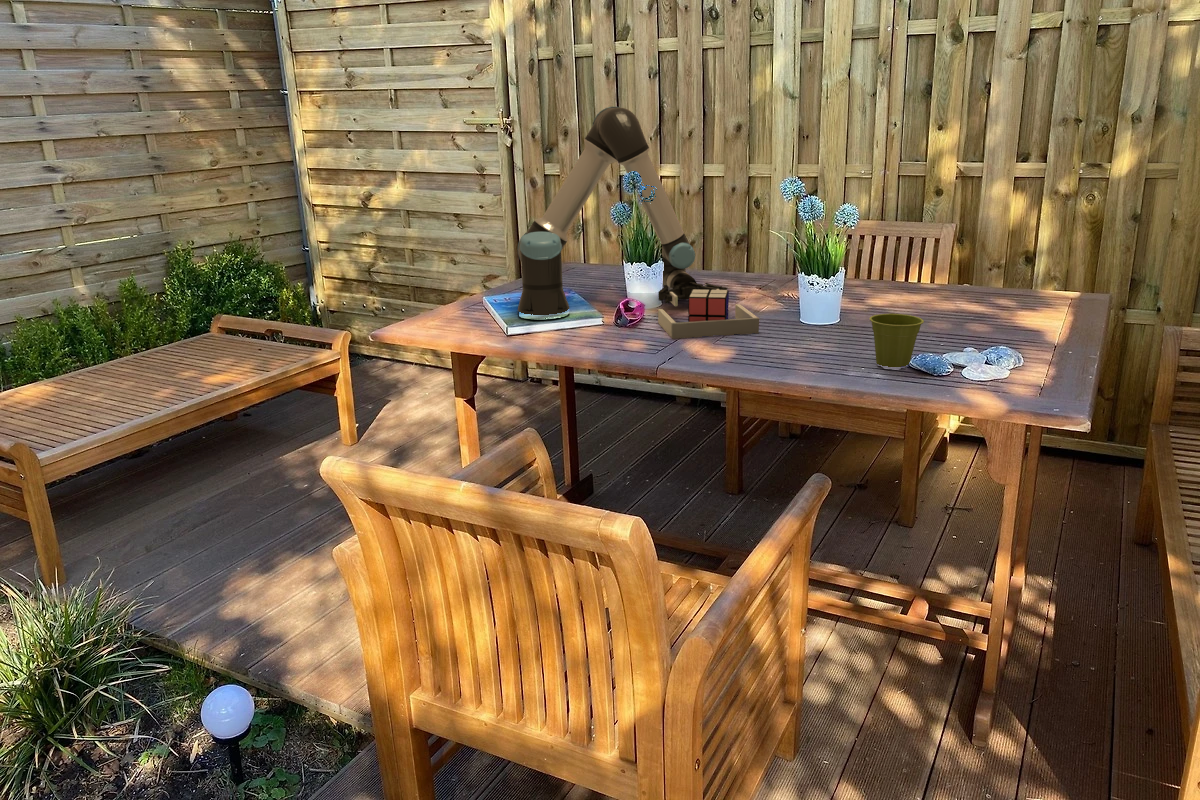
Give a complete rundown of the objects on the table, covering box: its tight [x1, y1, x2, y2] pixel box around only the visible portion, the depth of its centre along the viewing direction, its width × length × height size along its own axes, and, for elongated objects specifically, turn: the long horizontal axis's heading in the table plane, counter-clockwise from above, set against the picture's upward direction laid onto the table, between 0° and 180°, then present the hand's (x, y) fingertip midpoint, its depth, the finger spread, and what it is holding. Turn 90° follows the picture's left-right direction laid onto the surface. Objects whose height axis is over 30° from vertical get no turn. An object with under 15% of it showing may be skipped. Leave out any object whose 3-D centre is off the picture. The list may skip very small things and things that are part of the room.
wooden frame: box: [657, 303, 760, 340], centre depth 253 cm, size 18×23×4 cm
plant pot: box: [868, 313, 925, 367], centre depth 214 cm, size 12×12×11 cm
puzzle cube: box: [687, 289, 730, 322], centre depth 251 cm, size 10×10×10 cm
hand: (700, 299), depth 259 cm, fingers open, 13 cm apart
